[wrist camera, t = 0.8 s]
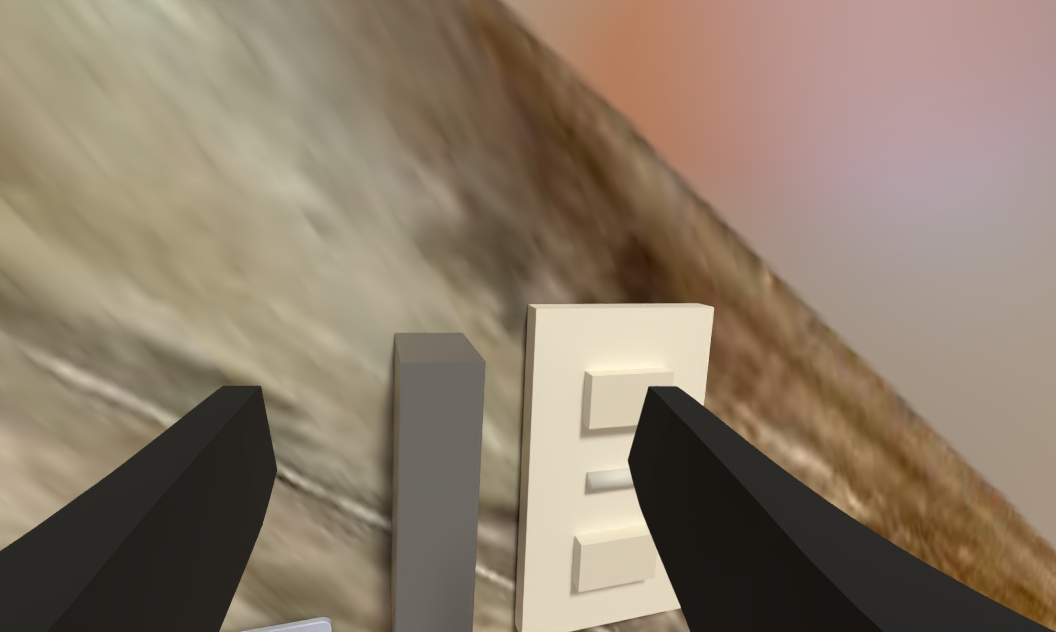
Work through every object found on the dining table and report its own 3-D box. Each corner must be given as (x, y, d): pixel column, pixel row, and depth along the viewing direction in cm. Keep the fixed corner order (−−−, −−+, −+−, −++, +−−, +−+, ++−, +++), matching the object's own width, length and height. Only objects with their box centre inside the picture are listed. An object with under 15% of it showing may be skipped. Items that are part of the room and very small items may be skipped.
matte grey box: (452, 581, 29) (470, 666, 24) (390, 590, 28) (394, 682, 23) (461, 332, 27) (485, 361, 21) (394, 332, 26) (400, 363, 20)
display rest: (669, 591, 34) (691, 619, 32) (514, 622, 31) (526, 655, 29) (698, 303, 31) (725, 310, 28) (528, 304, 27) (542, 312, 25)
